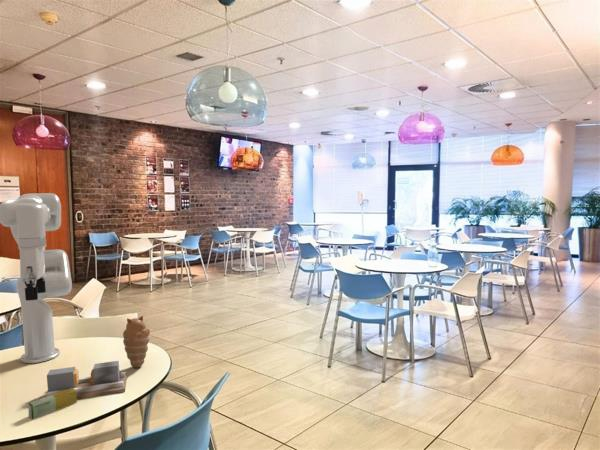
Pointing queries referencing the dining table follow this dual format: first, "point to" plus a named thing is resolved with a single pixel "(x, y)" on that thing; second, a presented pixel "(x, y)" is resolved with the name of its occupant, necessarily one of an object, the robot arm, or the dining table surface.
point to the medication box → (51, 403)
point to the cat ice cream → (136, 341)
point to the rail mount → (100, 381)
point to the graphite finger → (62, 379)
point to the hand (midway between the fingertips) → (36, 296)
